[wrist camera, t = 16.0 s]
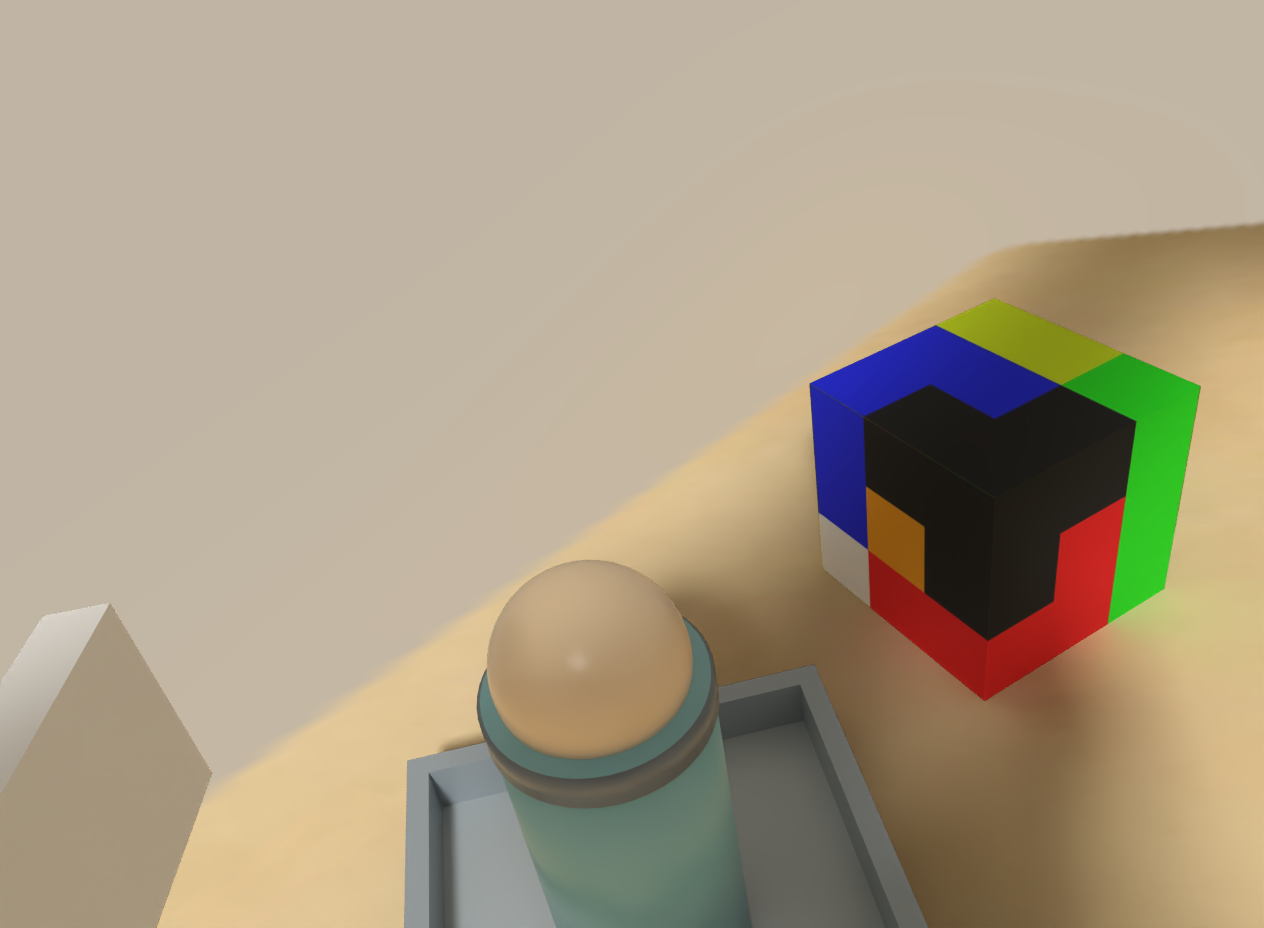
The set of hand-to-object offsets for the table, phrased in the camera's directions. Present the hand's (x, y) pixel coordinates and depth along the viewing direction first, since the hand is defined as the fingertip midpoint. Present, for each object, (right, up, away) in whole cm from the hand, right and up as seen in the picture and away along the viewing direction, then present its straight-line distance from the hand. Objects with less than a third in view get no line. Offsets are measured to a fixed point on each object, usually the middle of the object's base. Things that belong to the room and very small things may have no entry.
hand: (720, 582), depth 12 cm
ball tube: (0, -14, +22) cm, 26 cm away
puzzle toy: (+14, -4, +34) cm, 38 cm away
